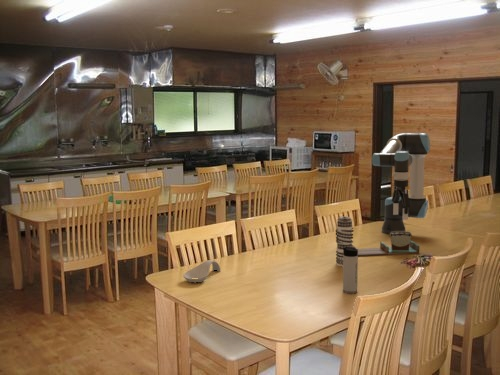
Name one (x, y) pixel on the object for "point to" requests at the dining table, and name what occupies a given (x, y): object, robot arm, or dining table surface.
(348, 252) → the travel mug
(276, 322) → the dining table surface
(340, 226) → the decorative candle
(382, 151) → the robot arm
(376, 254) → the rack
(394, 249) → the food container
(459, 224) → the dining table surface
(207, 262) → the spoon rest
